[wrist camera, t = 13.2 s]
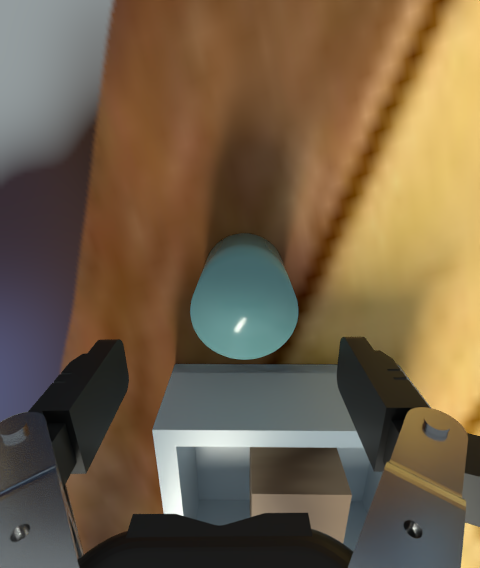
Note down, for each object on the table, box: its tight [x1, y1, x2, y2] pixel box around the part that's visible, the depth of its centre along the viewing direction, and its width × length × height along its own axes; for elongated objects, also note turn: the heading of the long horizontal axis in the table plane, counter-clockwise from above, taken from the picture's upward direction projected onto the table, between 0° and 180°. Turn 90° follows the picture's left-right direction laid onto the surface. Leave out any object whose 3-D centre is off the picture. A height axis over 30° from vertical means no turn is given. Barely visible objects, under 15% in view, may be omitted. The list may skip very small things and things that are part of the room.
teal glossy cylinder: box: [190, 233, 298, 360], centre depth 17 cm, size 5×5×6 cm
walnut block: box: [249, 447, 352, 543], centre depth 21 cm, size 6×7×6 cm
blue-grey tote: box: [152, 364, 431, 552], centre depth 22 cm, size 16×14×6 cm
